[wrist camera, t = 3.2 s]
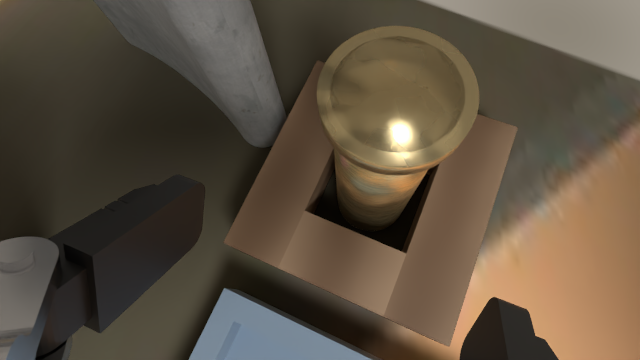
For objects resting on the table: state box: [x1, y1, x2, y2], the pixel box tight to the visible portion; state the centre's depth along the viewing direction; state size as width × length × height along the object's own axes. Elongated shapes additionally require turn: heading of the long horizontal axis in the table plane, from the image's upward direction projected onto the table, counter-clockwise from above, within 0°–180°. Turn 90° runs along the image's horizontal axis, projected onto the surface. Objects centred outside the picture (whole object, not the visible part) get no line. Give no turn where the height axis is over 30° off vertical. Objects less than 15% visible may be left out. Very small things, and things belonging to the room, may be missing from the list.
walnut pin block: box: [223, 60, 518, 346], centre depth 21 cm, size 12×12×3 cm
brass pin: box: [317, 26, 479, 231], centre depth 17 cm, size 5×5×12 cm
